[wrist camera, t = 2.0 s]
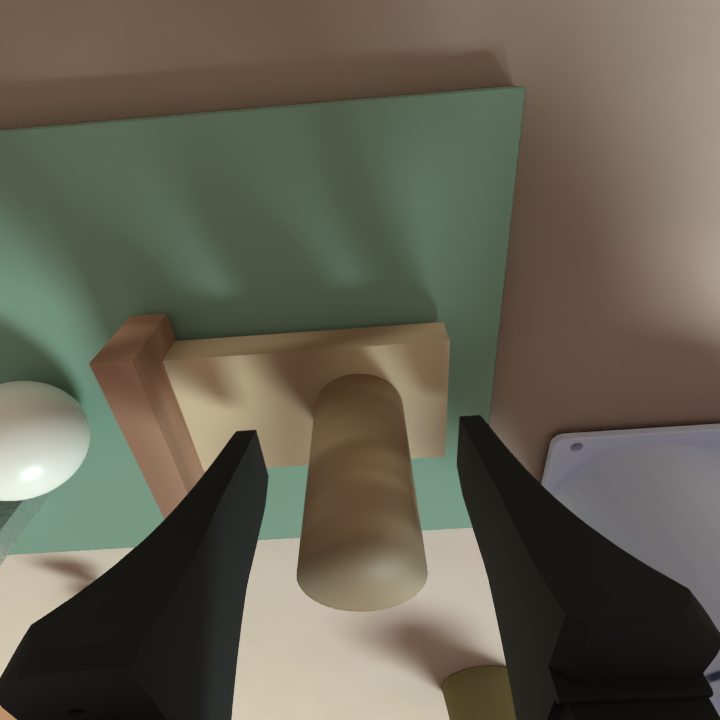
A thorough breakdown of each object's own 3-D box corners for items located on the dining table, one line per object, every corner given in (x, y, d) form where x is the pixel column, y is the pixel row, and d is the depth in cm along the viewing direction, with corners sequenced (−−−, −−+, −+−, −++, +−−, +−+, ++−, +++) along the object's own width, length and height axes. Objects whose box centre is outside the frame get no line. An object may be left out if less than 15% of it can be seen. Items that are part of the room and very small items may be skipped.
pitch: (513, 85, 13) (525, 87, 12) (472, 509, 22) (477, 527, 22) (-316, 157, 13) (-362, 163, 12) (-1, 538, 23) (-14, 555, 22)
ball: (84, 354, 16) (13, 431, 13) (125, 438, 18) (74, 523, 15) (-26, 362, 16) (-125, 441, 13) (28, 444, 18) (-45, 530, 15)
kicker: (443, 292, 14) (510, 460, 8) (439, 450, 18) (482, 644, 12) (130, 315, 15) (-26, 493, 9) (190, 466, 19) (111, 663, 13)
